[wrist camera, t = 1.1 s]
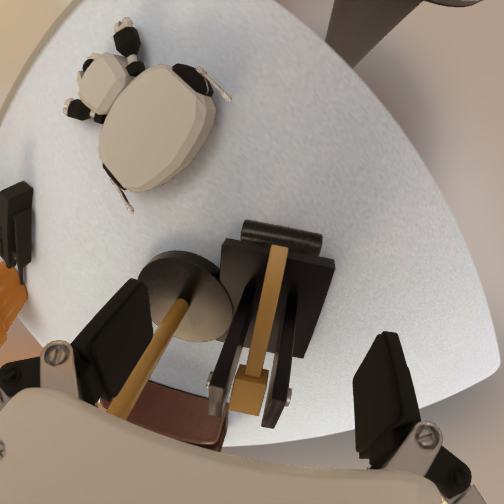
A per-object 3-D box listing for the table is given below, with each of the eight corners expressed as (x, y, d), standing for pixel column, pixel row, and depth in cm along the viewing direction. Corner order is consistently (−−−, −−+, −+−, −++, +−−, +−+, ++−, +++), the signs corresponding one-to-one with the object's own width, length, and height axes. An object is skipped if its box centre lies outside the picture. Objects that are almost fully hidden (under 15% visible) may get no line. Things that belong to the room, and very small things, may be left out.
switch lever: (247, 220, 19) (242, 217, 17) (320, 234, 19) (325, 233, 16) (216, 389, 20) (208, 404, 18) (278, 402, 19) (277, 420, 17)
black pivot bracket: (226, 237, 26) (166, 334, 15) (334, 259, 25) (346, 372, 13) (218, 331, 31) (180, 425, 20) (303, 349, 30) (294, 450, 19)
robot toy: (77, 111, 23) (158, 206, 25) (46, 113, 19) (130, 222, 21) (144, 17, 17) (251, 109, 20) (115, 4, 13) (234, 103, 16)
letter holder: (228, 427, 43) (208, 493, 31) (130, 397, 46) (100, 452, 33) (229, 402, 39) (205, 481, 26) (118, 367, 41) (79, 429, 29)
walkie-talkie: (-9, 200, 21) (2, 302, 31) (33, 204, 26) (32, 303, 35) (1, 175, 25) (4, 274, 34) (38, 179, 29) (33, 276, 39)
